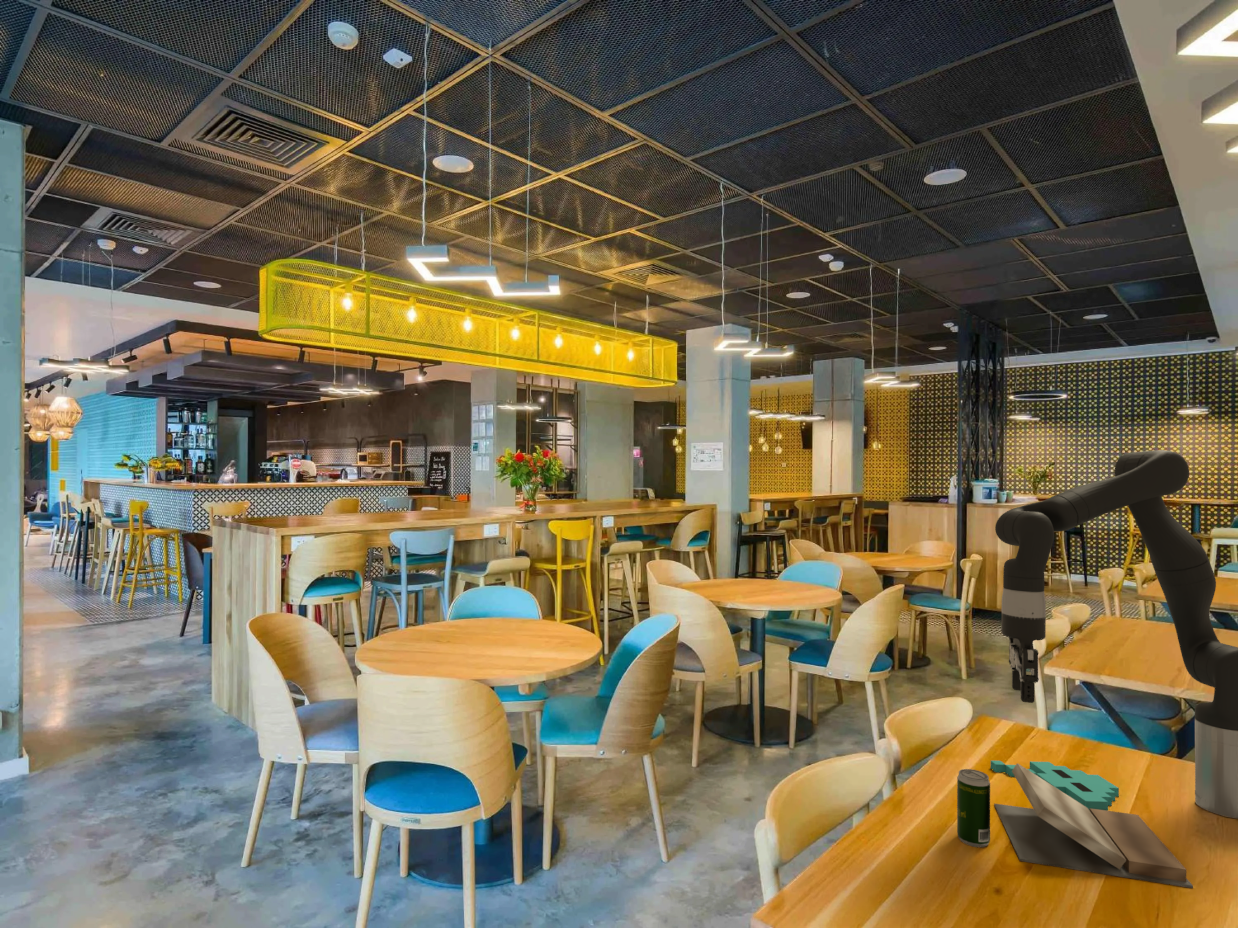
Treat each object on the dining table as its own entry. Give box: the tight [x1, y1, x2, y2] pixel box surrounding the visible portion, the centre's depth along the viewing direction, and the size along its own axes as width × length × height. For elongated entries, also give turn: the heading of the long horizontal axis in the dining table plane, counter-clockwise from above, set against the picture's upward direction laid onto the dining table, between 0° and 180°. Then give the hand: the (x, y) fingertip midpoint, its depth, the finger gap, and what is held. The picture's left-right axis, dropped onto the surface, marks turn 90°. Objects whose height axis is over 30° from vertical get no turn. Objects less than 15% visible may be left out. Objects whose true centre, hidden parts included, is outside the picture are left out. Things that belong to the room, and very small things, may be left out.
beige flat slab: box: [1012, 763, 1126, 869], centre depth 130 cm, size 14×20×2 cm
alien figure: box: [990, 760, 1120, 811], centre depth 151 cm, size 20×2×20 cm
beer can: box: [956, 768, 991, 848], centre depth 129 cm, size 5×5×12 cm
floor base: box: [993, 803, 1194, 889], centre depth 129 cm, size 25×22×2 cm
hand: (1022, 695), depth 138 cm, fingers open, 8 cm apart
